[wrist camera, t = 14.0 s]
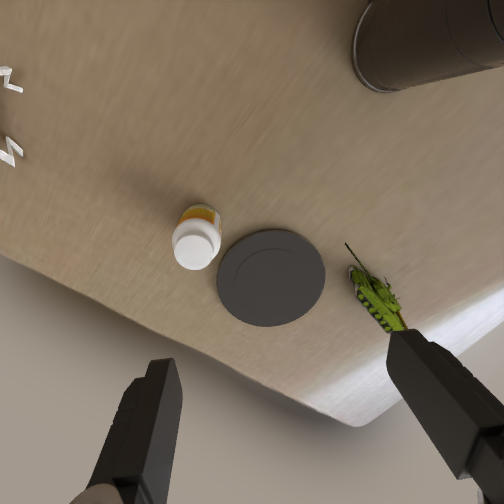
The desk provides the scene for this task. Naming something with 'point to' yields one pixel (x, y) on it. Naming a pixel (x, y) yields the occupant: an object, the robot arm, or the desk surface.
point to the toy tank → (377, 299)
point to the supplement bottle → (197, 237)
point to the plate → (270, 278)
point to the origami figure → (4, 156)
